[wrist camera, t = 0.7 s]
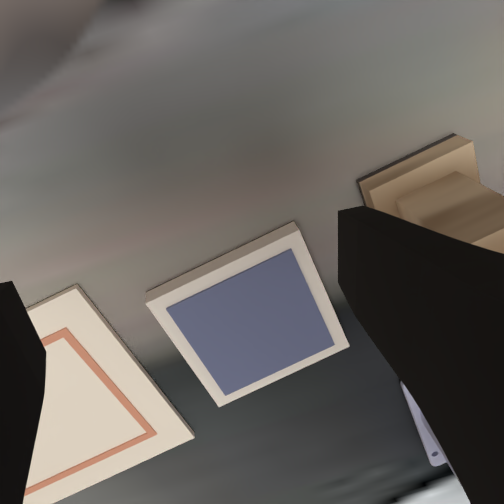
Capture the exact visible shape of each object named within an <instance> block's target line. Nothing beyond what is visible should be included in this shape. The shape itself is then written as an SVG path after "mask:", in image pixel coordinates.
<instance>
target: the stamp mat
mask: <svg viewBox="0 0 504 504" xmlns="http://www.w3.org/2000/svg"><path fill="white" fill-rule="evenodd" d="M26 311H27V313H28V315H29V317H30V319H31V321H32V323H33V325H34V327H35V329H36V331H37V334H38V336H39V338H40V340H41V342H42V344H43V346H44V348H45V350H46V379H45V394H44V400H43V405H42V410H41V415H40V421H39V426H38V431H37V436H36V440H35V445H34V450H33V455H32V460H31V465H30V470H29V475H28V480H27V484H26V489H25V494H24V500H23V504H53V503H55V502H57V501H59V500H61V499H63V498H66V497H68V496H70V495H72V494H74V493H76V492H79V491H81V490H83V489H85V488H87V487H89V486H91V485H94V484H96V483H98V482H100V481H102V480H104V479H107V478H109V477H111V476H113V475H115V474H117V473H120V472H122V471H124V470H126V469H128V468H130V467H133V466H135V465H137V464H139V463H141V462H143V461H145V460H148V459H150V458H152V457H154V456H156V455H158V454H161V453H163V452H165V451H167V450H169V449H171V448H174V447H176V446H178V445H180V444H182V443H184V442H186V441H189V440H191V439H193V438H195V435H194V431H193V430H192V429H191V428H190V426H189V425H188V424H187V422H186V421H185V420H184V419H183V417H182V416H181V415H180V414H179V412H178V411H177V410H176V409H175V407H174V406H173V405H172V403H171V402H170V401H169V400H168V398H167V397H166V396H165V395H164V393H163V392H162V391H161V389H160V388H159V387H158V386H157V384H156V383H155V382H154V381H153V379H152V378H151V377H150V376H149V374H148V373H147V372H146V370H145V369H144V368H143V367H142V365H141V364H140V363H139V362H138V360H137V359H136V358H135V356H134V355H133V354H132V353H131V351H130V350H129V349H128V348H127V346H126V345H125V344H124V343H123V341H122V340H121V339H120V337H119V336H118V335H117V334H116V332H115V331H114V330H113V329H112V327H111V326H110V325H109V323H108V322H107V321H106V320H105V318H104V317H103V316H102V315H101V313H100V312H99V311H98V310H97V308H96V307H95V306H94V304H93V303H92V302H91V301H90V299H89V298H88V297H87V296H86V294H85V293H84V292H83V290H82V289H81V288H80V287H79V285H78V284H76V285H74V286H72V287H70V288H68V289H66V290H64V291H62V292H60V293H57V294H55V295H53V296H51V297H49V298H47V299H45V300H43V301H41V302H39V303H37V304H35V305H33V306H31V307H29V308H27V309H26Z"/></svg>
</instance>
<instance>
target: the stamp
mask: <svg viewBox="0 0 504 504" xmlns="http://www.w3.org/2000/svg"><path fill="white" fill-rule="evenodd" d="M356 181H357V184H358V187H359V190H360V193H361V196H362V199H363V202H364V205H365V206H366V207H370V208H373V209H376V210H379V211H382V212H385V213H388V214H390V215H393V216H396V217H398V218H401V219H403V220H406V221H409V222H411V223H414V224H417V225H419V226H422V227H425V228H427V229H430V230H433V231H435V232H438V233H441V234H444V235H446V236H449V237H452V238H455V239H458V240H461V241H464V242H467V243H470V244H473V245H476V246H480V247H483V248H486V249H489V250H492V251H496V252H499V253H503V254H504V196H502V195H500V194H499V193H497V192H495V191H493V190H491V189H489V188H487V187H485V186H483V185H482V184H480V179H479V173H478V167H477V162H476V156H475V151H474V145H473V141H471V140H468V139H466V138H463V137H461V136H459V135H456V134H454V133H453V134H451V135H449V136H447V137H445V138H443V139H441V140H438V141H436V142H434V143H432V144H430V145H428V146H426V147H424V148H422V149H420V150H418V151H416V152H414V153H412V154H409V155H407V156H405V157H403V158H401V159H399V160H397V161H395V162H393V163H391V164H389V165H387V166H385V167H383V168H380V169H378V170H376V171H374V172H372V173H370V174H368V175H366V176H364V177H362V178H360V179H358V180H356Z"/></svg>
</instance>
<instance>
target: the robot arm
mask: <svg viewBox="0 0 504 504" xmlns="http://www.w3.org/2000/svg"><path fill="white" fill-rule="evenodd" d="M338 283H339V285H340V287H341V289H342V291H343V293H344V295H345V297H346V299H347V301H348V303H349V305H350V307H351V309H352V311H353V313H354V314H355V316H356V318H357V319H358V321H359V322H360V324H361V325H362V326H363V328H364V329H365V331H366V332H367V334H368V335H369V336H370V338H371V339H372V341H373V342H374V344H375V345H376V346H377V348H378V349H379V350H380V352H381V353H382V355H383V356H384V357H385V359H386V360H387V362H388V363H389V364H390V366H391V367H392V369H393V370H394V371H395V373H396V374H397V376H398V377H399V378H400V380H401V382H400V385H401V387H402V390H403V393H404V395H405V398H406V401H407V403H408V406H409V409H410V411H411V414H412V417H413V419H414V422H415V425H416V427H417V430H418V433H419V435H420V438H421V441H422V443H423V446H424V449H425V451H426V454H427V457H428V459H429V462H430V463H431V465H432V466H439V465H441V464H443V463H446V462H447V464H448V465H449V467H450V468H451V470H452V471H453V473H454V475H455V476H456V478H457V479H458V481H459V482H460V484H461V486H462V487H463V489H464V491H465V493H466V495H467V497H468V499H469V501H470V503H471V504H504V254H503V253H499V252H496V251H492V250H489V249H486V248H483V247H480V246H476V245H473V244H470V243H467V242H464V241H461V240H458V239H455V238H452V237H449V236H446V235H444V234H441V233H438V232H435V231H433V230H430V229H427V228H425V227H422V226H419V225H417V224H414V223H411V222H409V221H406V220H403V219H401V218H398V217H396V216H393V215H390V214H388V213H385V212H382V211H379V210H376V209H373V208H370V207H366V206H359V207H354V208H350V209H345V210H340V211H338ZM45 379H46V350H45V348H44V346H43V344H42V342H41V340H40V338H39V336H38V334H37V331H36V329H35V327H34V325H33V323H32V321H31V319H30V317H29V315H28V313H27V311H26V309H25V307H24V305H23V302H22V300H21V298H20V296H19V294H18V292H17V290H16V288H15V286H14V284H13V282H12V281H9V282H4V283H0V504H23V500H24V494H25V489H26V484H27V480H28V475H29V470H30V465H31V460H32V455H33V450H34V445H35V440H36V436H37V431H38V426H39V421H40V415H41V410H42V405H43V400H44V394H45Z"/></svg>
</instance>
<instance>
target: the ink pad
mask: <svg viewBox="0 0 504 504" xmlns="http://www.w3.org/2000/svg"><path fill="white" fill-rule="evenodd" d="M146 305H147V306H148V308H149V309H150V311H151V312H152V313H153V315H154V316H155V318H156V319H157V320H158V322H159V323H160V325H161V326H162V327H163V329H164V330H165V332H166V333H167V334H168V336H169V337H170V339H171V340H172V342H173V343H174V344H175V346H176V347H177V349H178V350H179V351H180V353H181V354H182V356H183V357H184V358H185V360H186V361H187V363H188V364H189V365H190V367H191V368H192V370H193V371H194V373H195V374H196V375H197V377H198V378H199V380H200V381H201V382H202V384H203V385H204V387H205V388H206V389H207V391H208V392H209V394H210V395H211V397H212V398H213V399H214V401H215V402H216V404H217V405H218V406H219V407H220V406H223V405H225V404H227V403H229V402H231V401H233V400H236V399H238V398H240V397H242V396H244V395H246V394H248V393H251V392H253V391H255V390H257V389H259V388H261V387H263V386H266V385H268V384H270V383H272V382H274V381H276V380H279V379H281V378H283V377H285V376H287V375H289V374H291V373H294V372H296V371H298V370H300V369H302V368H304V367H306V366H309V365H311V364H313V363H315V362H317V361H319V360H322V359H324V358H326V357H328V356H330V355H332V354H334V353H337V352H339V351H341V350H343V349H345V348H347V347H349V344H348V341H347V339H346V337H345V334H344V332H343V330H342V327H341V325H340V323H339V321H338V318H337V316H336V314H335V311H334V309H333V307H332V304H331V302H330V300H329V297H328V295H327V293H326V291H325V288H324V286H323V284H322V281H321V279H320V277H319V274H318V272H317V270H316V267H315V265H314V263H313V261H312V258H311V256H310V254H309V251H308V249H307V247H306V244H305V242H304V240H303V237H302V235H301V233H300V230H299V229H298V227H297V226H296V224H295V222H294V221H293V222H291V223H289V224H287V225H285V226H283V227H281V228H279V229H276V230H274V231H272V232H270V233H268V234H266V235H264V236H262V237H260V238H258V239H256V240H254V241H252V242H249V243H247V244H245V245H243V246H241V247H239V248H237V249H235V250H233V251H231V252H229V253H227V254H225V255H222V256H220V257H218V258H216V259H214V260H212V261H210V262H208V263H206V264H204V265H202V266H200V267H198V268H195V269H193V270H191V271H189V272H187V273H185V274H183V275H181V276H179V277H177V278H175V279H173V280H171V281H168V282H166V283H164V284H162V285H160V286H158V287H156V288H154V289H152V290H150V291H148V292H146Z"/></svg>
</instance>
